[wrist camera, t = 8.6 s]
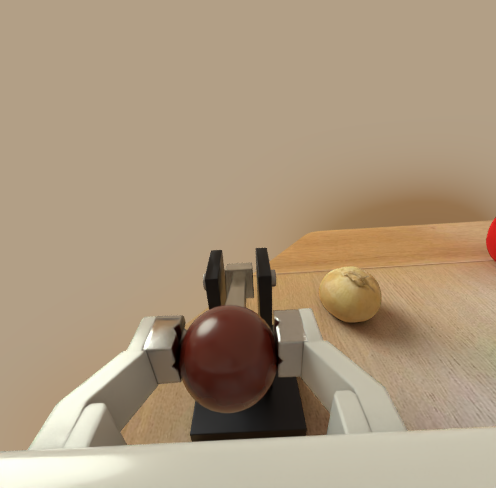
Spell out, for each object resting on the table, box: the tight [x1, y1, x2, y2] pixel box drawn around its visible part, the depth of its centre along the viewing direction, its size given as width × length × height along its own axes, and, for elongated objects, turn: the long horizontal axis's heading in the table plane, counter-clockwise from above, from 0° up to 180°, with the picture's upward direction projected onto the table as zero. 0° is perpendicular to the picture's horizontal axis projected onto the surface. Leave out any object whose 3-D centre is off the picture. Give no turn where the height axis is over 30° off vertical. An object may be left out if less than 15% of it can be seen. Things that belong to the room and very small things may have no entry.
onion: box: [319, 267, 381, 322], centre depth 34 cm, size 8×8×7 cm
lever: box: [179, 263, 278, 413], centre depth 15 cm, size 15×4×4 cm, turn 1°
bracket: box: [190, 248, 307, 442], centre depth 24 cm, size 12×10×15 cm
